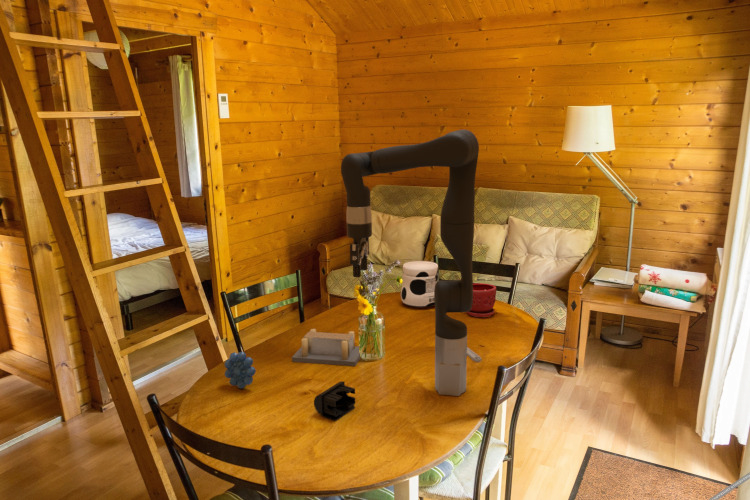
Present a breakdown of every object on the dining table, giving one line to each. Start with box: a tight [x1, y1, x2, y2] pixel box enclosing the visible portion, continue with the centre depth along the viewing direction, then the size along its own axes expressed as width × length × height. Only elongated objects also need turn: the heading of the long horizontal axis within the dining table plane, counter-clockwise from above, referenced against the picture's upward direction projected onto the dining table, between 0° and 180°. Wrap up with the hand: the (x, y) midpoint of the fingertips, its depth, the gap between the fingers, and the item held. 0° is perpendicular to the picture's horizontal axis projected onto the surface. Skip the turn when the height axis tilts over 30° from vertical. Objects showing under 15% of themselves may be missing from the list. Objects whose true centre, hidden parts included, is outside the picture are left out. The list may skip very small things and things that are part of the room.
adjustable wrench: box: [467, 346, 482, 363], centre depth 194 cm, size 25×6×2 cm, turn 13°
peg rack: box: [291, 328, 361, 367], centre depth 189 cm, size 13×22×8 cm, turn 77°
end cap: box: [313, 381, 356, 422], centre depth 152 cm, size 10×7×7 cm
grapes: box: [224, 351, 256, 389], centre depth 167 cm, size 12×7×12 cm, turn 63°
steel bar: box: [303, 331, 353, 357], centre depth 189 cm, size 5×16×6 cm, turn 78°
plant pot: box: [466, 282, 497, 318], centre depth 228 cm, size 13×13×12 cm
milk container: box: [400, 260, 439, 309], centre depth 242 cm, size 17×17×18 cm
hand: (360, 273), depth 168 cm, fingers open, 8 cm apart
